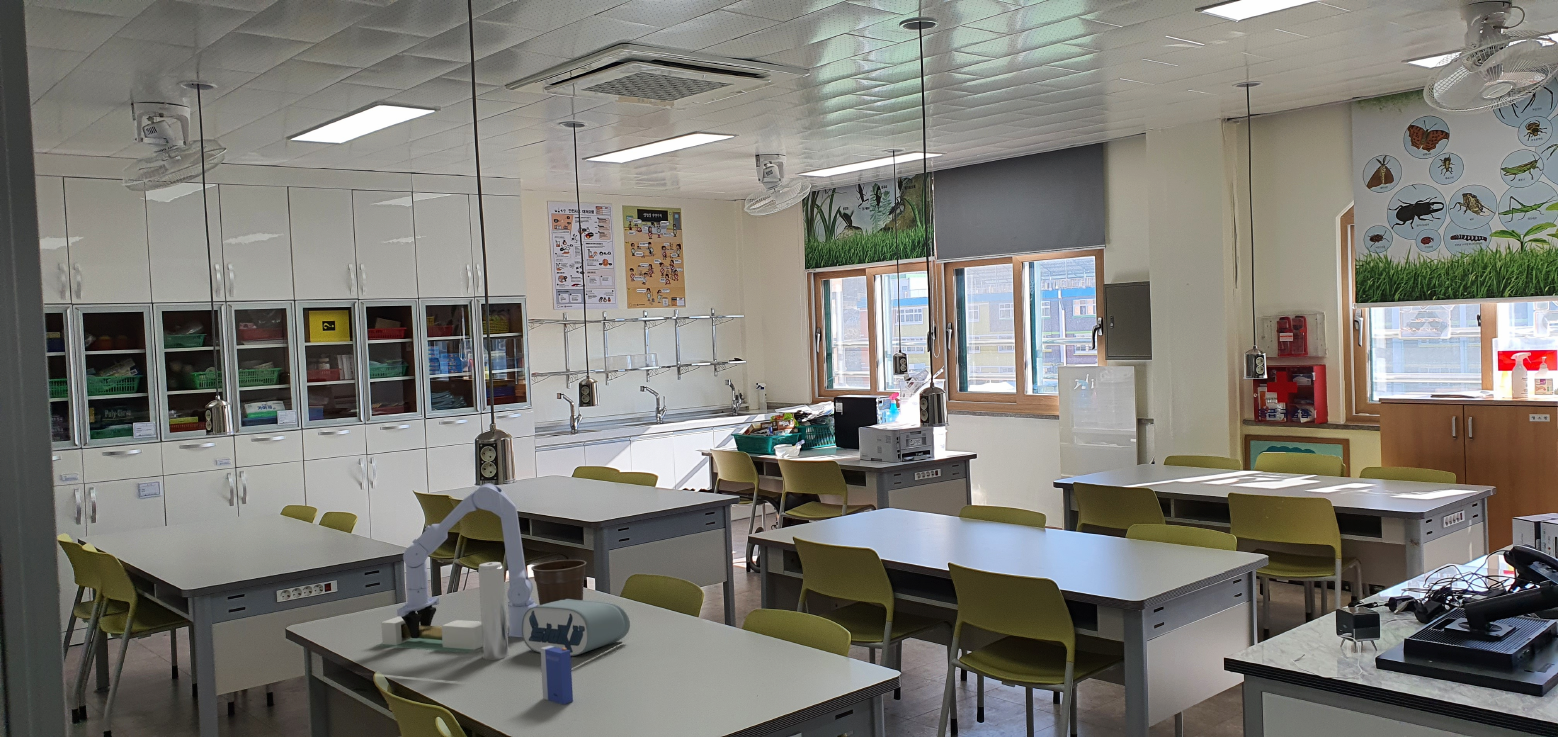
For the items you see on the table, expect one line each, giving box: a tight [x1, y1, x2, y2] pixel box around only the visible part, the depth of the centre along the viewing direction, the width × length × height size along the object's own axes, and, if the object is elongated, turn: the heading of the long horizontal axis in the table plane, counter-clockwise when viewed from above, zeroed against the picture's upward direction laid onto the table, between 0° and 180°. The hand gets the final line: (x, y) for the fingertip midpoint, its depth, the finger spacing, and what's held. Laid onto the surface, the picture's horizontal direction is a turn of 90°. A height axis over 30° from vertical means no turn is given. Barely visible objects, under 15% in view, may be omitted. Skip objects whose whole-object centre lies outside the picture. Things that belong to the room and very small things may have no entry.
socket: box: [381, 616, 414, 645], centre depth 309 cm, size 5×9×6 cm, turn 156°
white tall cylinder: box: [478, 561, 510, 661], centre depth 287 cm, size 6×6×25 cm
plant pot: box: [531, 559, 587, 605], centre depth 328 cm, size 16×16×16 cm
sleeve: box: [441, 619, 483, 651], centre depth 300 cm, size 11×6×6 cm, turn 66°
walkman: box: [540, 646, 574, 705], centre depth 249 cm, size 8×3×12 cm, turn 47°
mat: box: [376, 638, 483, 654], centre depth 304 cm, size 32×12×1 cm, turn 66°
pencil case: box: [522, 599, 631, 657], centre depth 293 cm, size 22×19×13 cm
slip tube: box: [401, 624, 442, 640], centre depth 305 cm, size 21×4×4 cm, turn 66°
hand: (420, 635), depth 306 cm, fingers closed on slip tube, 4 cm apart
